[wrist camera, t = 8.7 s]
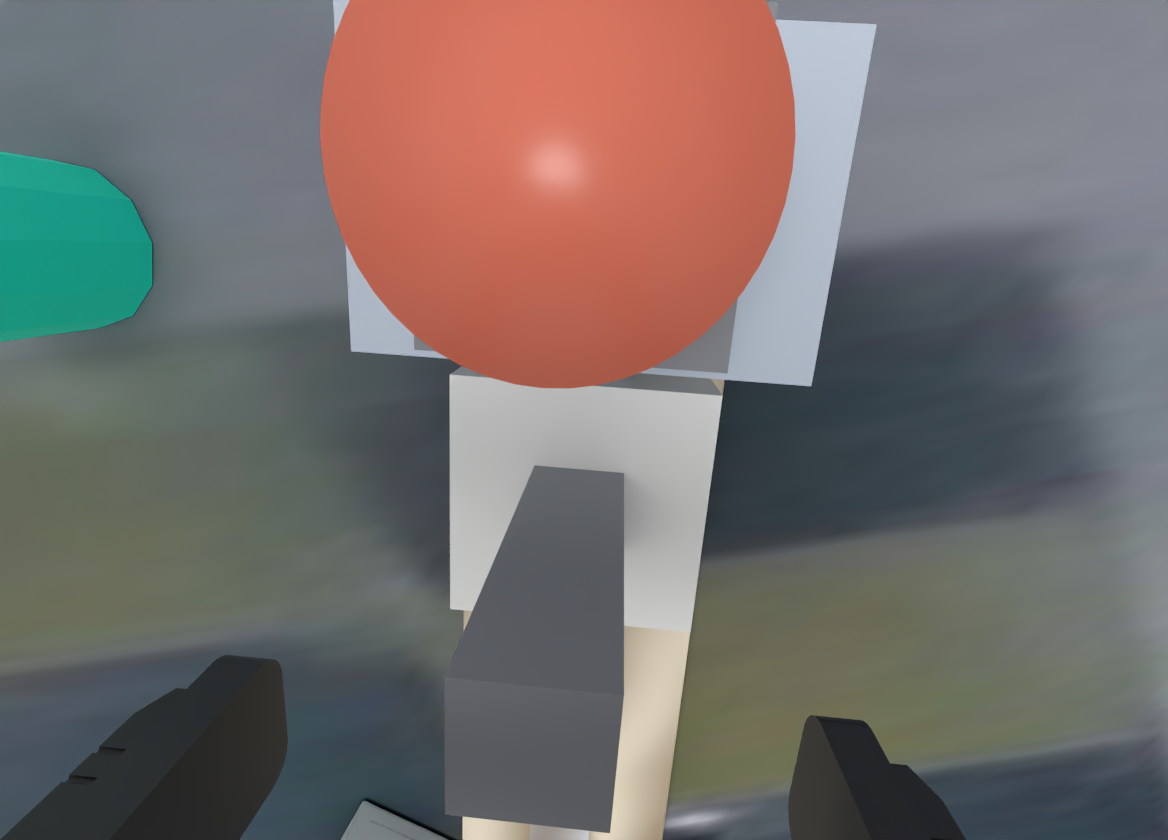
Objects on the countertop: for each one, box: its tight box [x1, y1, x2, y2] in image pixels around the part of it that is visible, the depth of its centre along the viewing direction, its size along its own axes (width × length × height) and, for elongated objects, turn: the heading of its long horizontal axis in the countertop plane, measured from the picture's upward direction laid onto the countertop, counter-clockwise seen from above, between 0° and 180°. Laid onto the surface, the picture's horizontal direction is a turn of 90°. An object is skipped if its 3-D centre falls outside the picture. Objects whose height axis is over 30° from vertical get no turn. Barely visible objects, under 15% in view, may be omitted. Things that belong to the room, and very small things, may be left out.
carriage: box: [444, 366, 723, 833], centre depth 14 cm, size 7×7×13 cm
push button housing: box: [333, 0, 876, 386], centre depth 14 cm, size 9×6×12 cm, turn 86°
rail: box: [463, 379, 724, 840], centre depth 22 cm, size 9×24×4 cm, turn 176°
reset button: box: [321, 0, 796, 388], centre depth 7 cm, size 4×4×3 cm
